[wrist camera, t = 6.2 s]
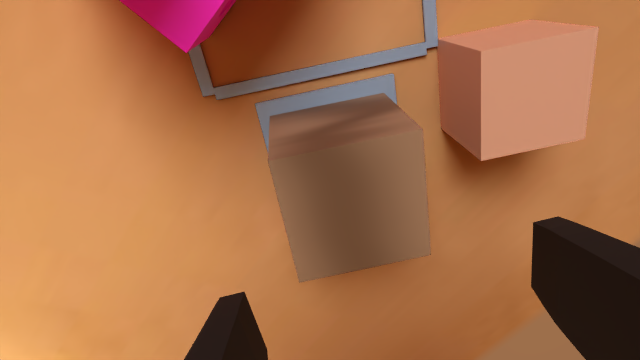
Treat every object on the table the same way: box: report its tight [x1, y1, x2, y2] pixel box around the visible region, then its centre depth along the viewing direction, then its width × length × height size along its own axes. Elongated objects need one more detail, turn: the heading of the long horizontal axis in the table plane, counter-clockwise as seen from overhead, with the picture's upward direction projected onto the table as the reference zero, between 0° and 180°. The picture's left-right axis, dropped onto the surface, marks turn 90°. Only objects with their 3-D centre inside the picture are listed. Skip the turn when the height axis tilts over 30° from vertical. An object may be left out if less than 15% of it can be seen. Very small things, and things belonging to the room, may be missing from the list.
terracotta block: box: [437, 20, 599, 161], centre depth 16 cm, size 4×4×4 cm
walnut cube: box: [268, 93, 431, 283], centre depth 16 cm, size 5×5×5 cm
